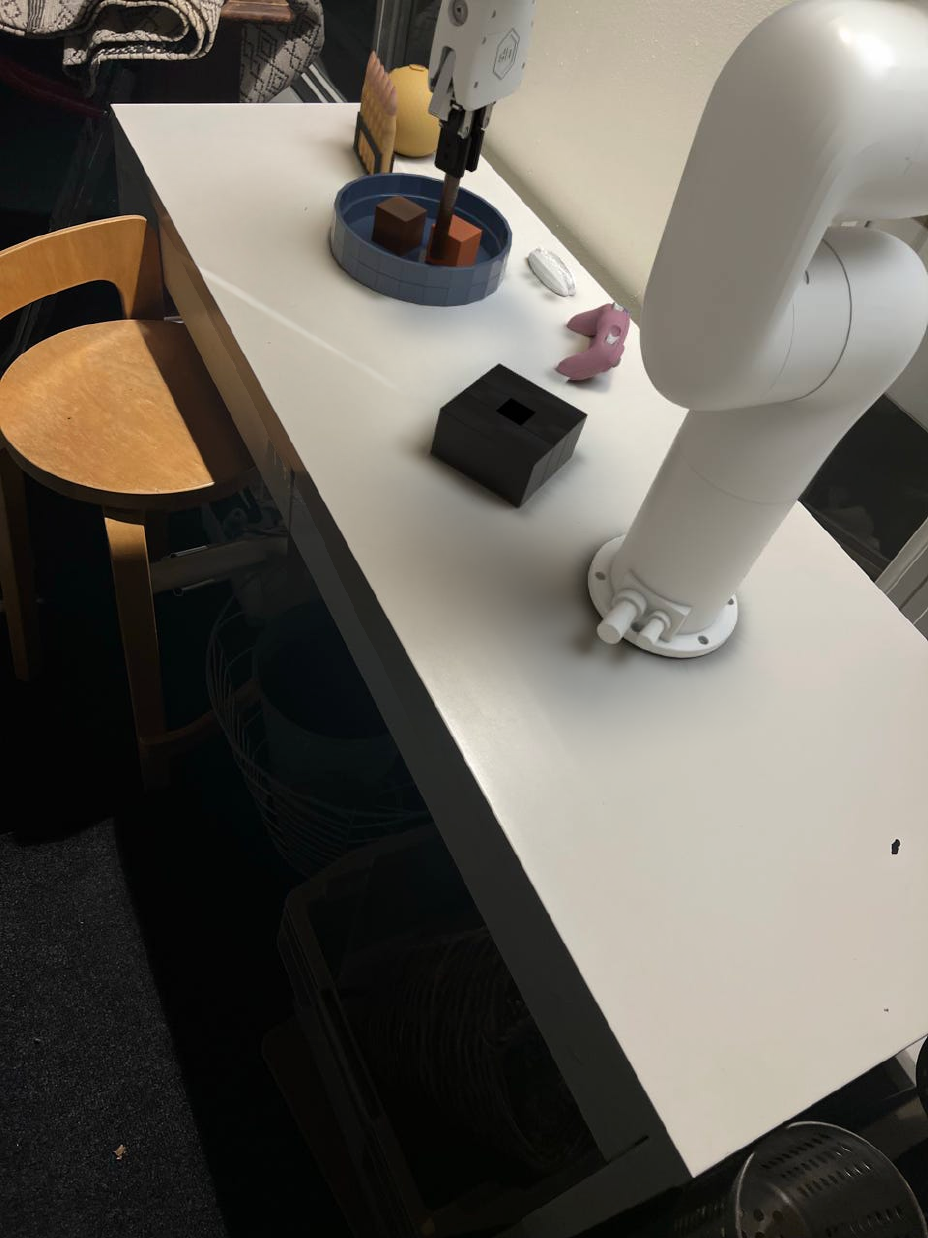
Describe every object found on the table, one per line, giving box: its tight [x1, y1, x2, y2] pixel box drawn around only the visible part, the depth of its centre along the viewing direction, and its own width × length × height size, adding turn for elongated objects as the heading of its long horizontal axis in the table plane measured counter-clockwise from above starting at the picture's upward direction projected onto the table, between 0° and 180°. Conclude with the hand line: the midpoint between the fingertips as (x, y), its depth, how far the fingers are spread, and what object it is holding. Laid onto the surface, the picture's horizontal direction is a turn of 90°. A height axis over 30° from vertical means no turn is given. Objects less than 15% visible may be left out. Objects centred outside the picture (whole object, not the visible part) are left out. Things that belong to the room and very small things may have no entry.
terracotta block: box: [425, 214, 482, 267], centre depth 98 cm, size 4×4×4 cm
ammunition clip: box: [352, 50, 397, 176], centre depth 105 cm, size 11×2×12 cm, turn 19°
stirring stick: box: [429, 107, 475, 260], centre depth 90 cm, size 2×2×15 cm
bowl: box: [330, 172, 513, 307], centre depth 97 cm, size 19×19×5 cm
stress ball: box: [387, 63, 454, 158], centre depth 111 cm, size 10×10×10 cm
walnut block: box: [372, 195, 427, 256], centre depth 98 cm, size 4×4×4 cm
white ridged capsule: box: [527, 246, 579, 297], centre depth 101 cm, size 3×8×3 cm, turn 29°
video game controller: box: [556, 301, 631, 381], centre depth 92 cm, size 10×5×7 cm, turn 168°
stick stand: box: [429, 362, 589, 509], centre depth 80 cm, size 10×10×5 cm
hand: (455, 167), depth 89 cm, fingers closed on stirring stick, 1 cm apart
